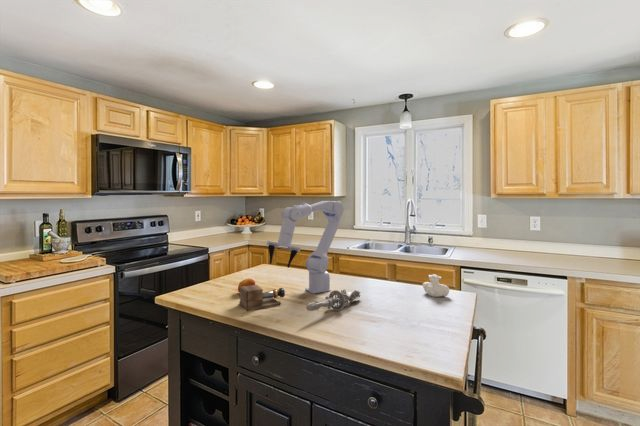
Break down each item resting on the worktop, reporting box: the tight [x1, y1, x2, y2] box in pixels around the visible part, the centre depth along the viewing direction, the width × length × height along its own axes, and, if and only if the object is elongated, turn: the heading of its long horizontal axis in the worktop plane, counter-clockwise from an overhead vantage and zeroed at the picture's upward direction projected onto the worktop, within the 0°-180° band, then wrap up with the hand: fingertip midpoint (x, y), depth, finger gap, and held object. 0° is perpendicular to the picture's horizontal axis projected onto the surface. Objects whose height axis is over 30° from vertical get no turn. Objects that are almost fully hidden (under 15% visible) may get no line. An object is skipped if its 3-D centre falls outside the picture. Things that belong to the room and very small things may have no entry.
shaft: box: [263, 287, 286, 299], centre depth 137 cm, size 12×4×4 cm, turn 120°
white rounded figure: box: [421, 273, 450, 298], centre depth 147 cm, size 12×8×11 cm
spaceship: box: [306, 289, 362, 312], centre depth 129 cm, size 8×35×8 cm
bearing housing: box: [239, 284, 281, 312], centre depth 135 cm, size 14×10×8 cm
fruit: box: [237, 277, 256, 293], centre depth 150 cm, size 8×8×8 cm
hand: (279, 265), depth 139 cm, fingers open, 7 cm apart
